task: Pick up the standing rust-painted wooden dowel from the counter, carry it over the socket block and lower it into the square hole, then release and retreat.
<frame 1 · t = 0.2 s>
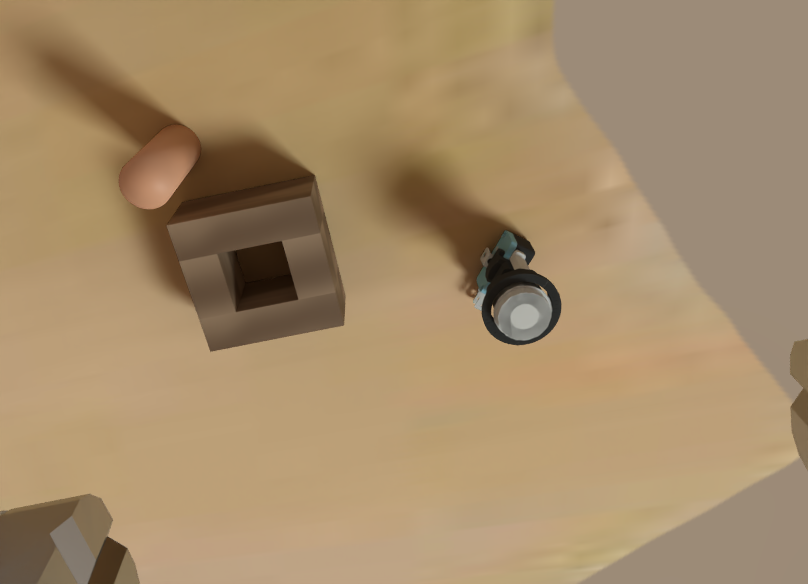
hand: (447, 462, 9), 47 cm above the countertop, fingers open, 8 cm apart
socket block: (266, 250, 58), on the countertop
dowel: (178, 146, 55), on the countertop
push button: (495, 264, 60), on the countertop
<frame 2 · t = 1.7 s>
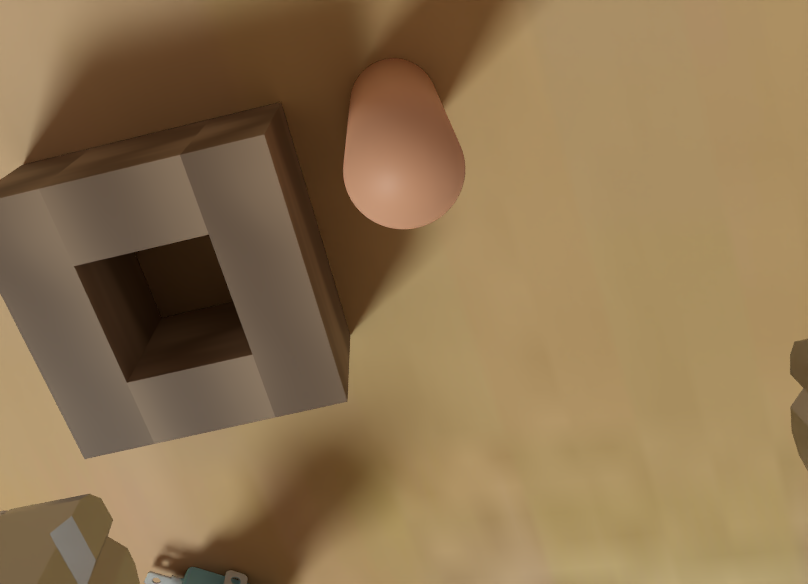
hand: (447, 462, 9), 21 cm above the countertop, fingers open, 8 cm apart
socket block: (196, 255, 30), on the countertop
dowel: (393, 103, 28), on the countertop
push button: (216, 583, 38), on the countertop
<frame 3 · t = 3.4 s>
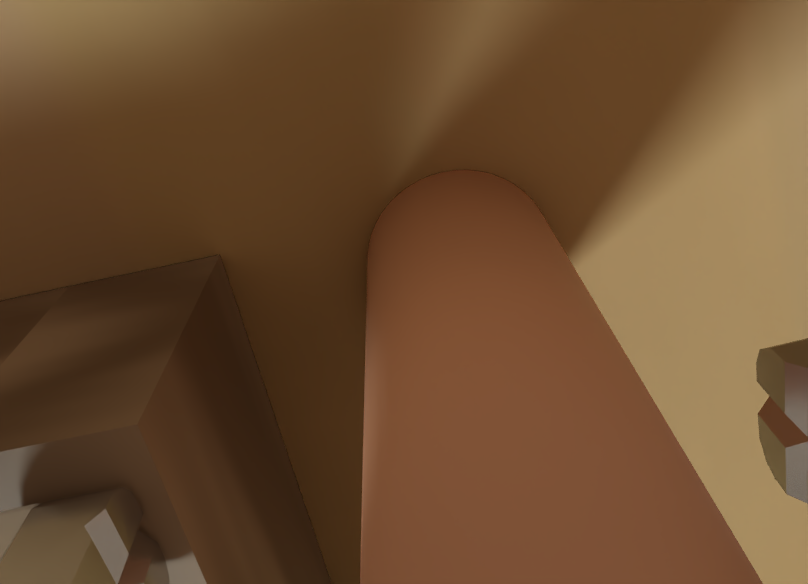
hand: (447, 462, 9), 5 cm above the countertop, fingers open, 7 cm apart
socket block: (57, 528, 15), on the countertop
dowel: (459, 259, 13), on the countertop
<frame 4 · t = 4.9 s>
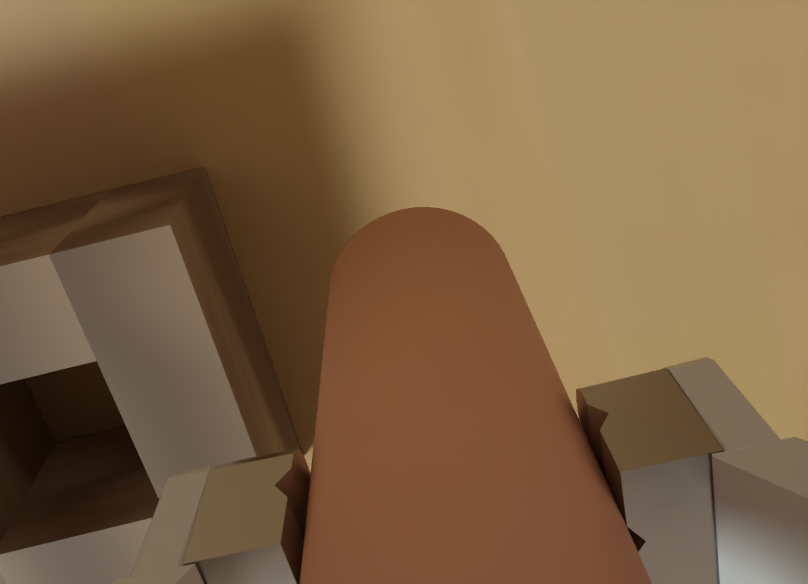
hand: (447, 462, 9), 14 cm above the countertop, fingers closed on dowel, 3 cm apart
socket block: (98, 364, 23), on the countertop
dowel: (421, 294, 13), point 9 cm above the countertop, touching gripper
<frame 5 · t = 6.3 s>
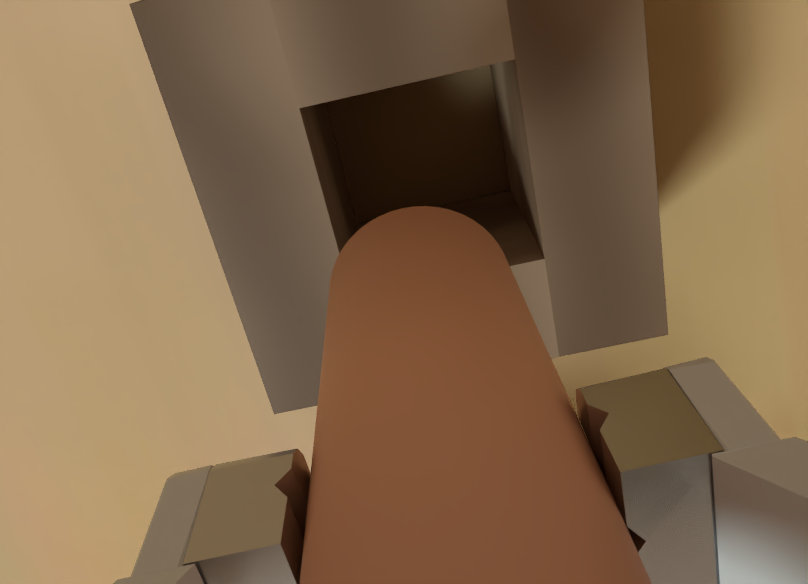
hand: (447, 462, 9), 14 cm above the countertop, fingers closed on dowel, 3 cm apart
socket block: (417, 131, 21), on the countertop
dowel: (420, 293, 13), point 9 cm above the countertop, touching gripper
when the fingers open (6 cm above the countertop, at t = 8.4 s): dowel drops 1 cm, resting in socket block.
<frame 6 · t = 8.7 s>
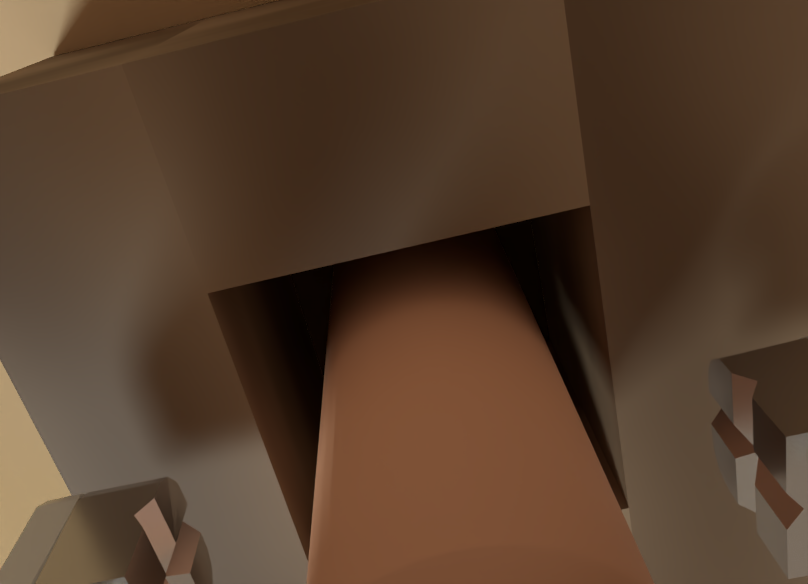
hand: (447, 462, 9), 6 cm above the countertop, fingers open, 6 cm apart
socket block: (413, 261, 14), on the countertop
dowel: (418, 266, 15), resting in socket block
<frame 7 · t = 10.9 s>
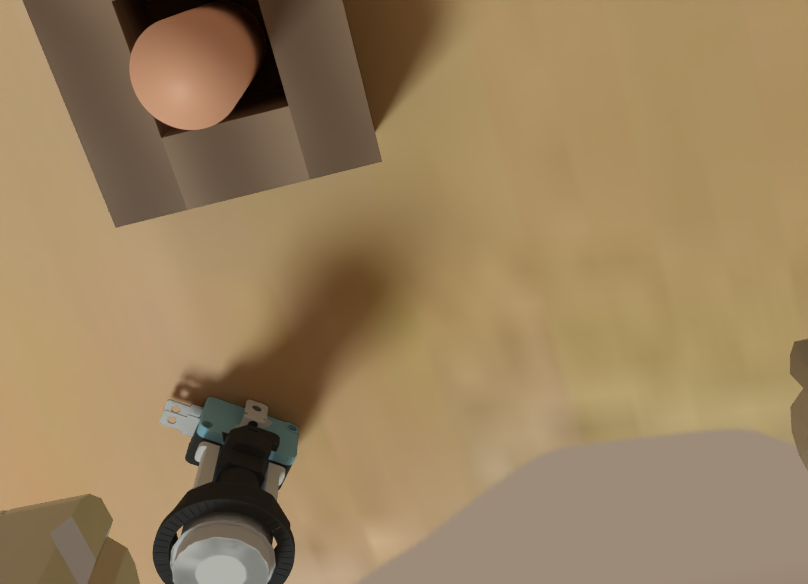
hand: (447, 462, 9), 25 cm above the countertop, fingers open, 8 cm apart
socket block: (222, 40, 30), on the countertop
dowel: (225, 43, 30), resting in socket block
push button: (235, 418, 38), on the countertop
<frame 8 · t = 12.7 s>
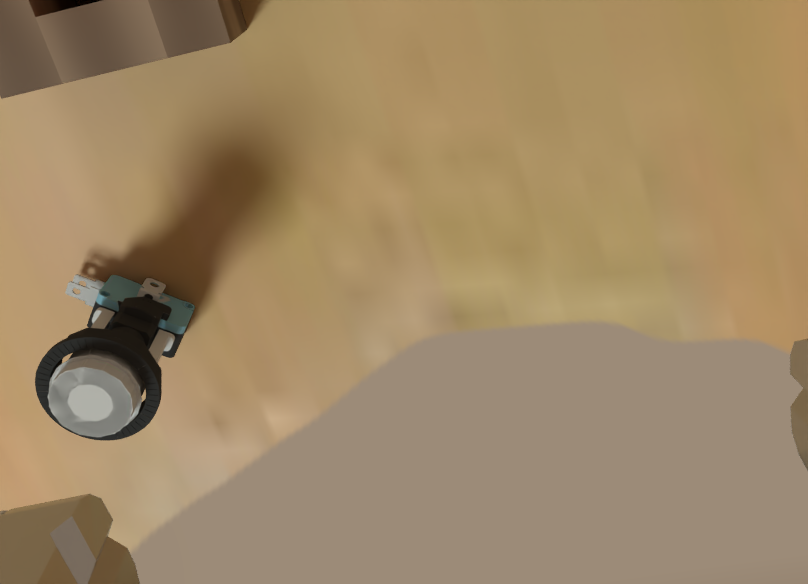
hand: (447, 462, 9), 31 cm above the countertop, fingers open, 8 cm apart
push button: (139, 296, 42), on the countertop
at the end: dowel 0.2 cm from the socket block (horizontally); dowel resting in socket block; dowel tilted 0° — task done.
